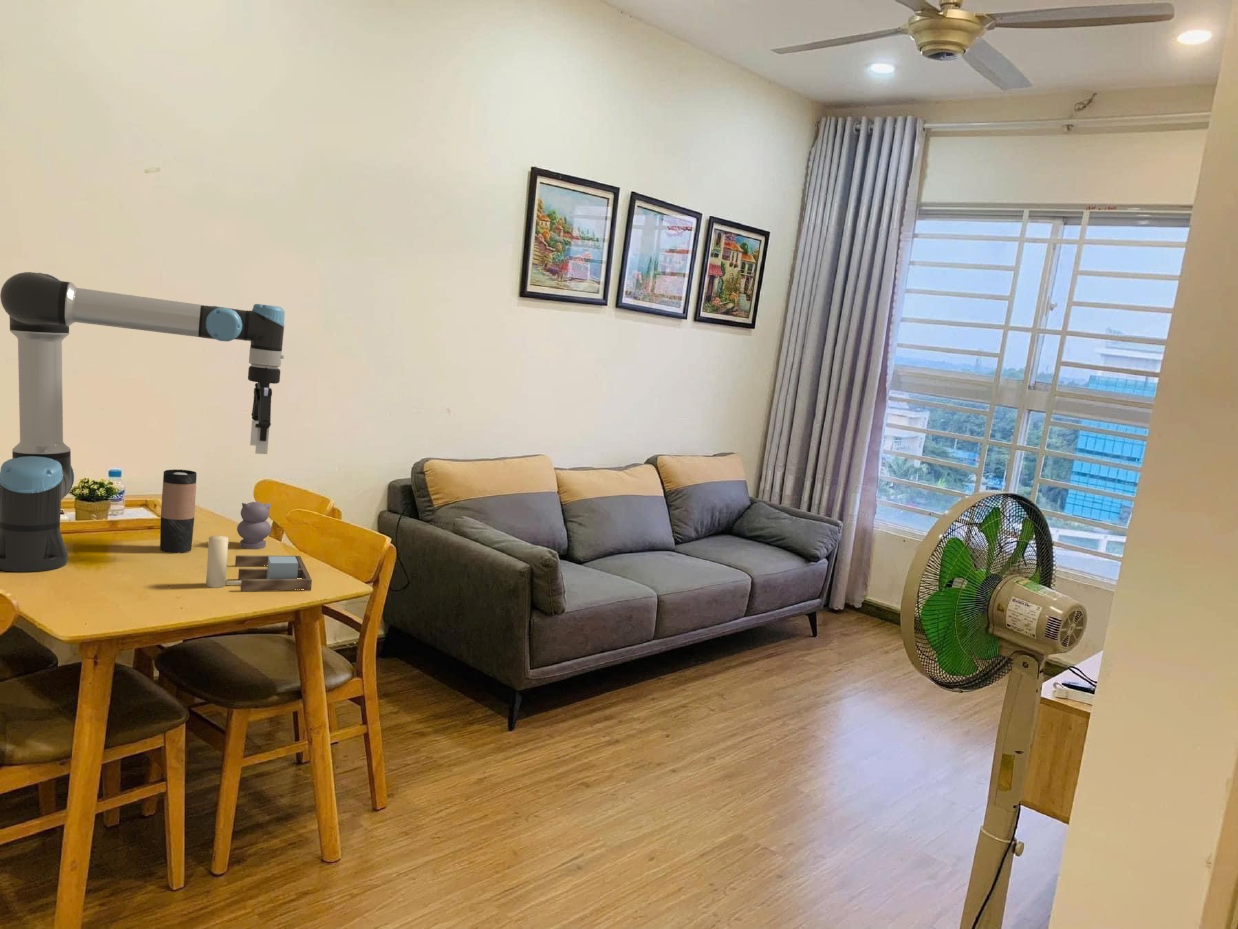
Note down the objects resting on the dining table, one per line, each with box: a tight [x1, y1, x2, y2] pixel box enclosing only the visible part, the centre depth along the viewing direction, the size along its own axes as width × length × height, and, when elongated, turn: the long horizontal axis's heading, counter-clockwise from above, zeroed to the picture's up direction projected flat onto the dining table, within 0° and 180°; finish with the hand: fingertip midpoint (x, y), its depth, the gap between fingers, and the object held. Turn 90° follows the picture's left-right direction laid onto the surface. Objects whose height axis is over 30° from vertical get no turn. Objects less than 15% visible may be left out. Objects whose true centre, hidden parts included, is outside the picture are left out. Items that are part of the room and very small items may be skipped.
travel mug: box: [159, 469, 198, 554], centre depth 229 cm, size 8×8×20 cm
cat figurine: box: [236, 501, 273, 550], centre depth 242 cm, size 8×8×12 cm
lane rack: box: [234, 554, 313, 592], centre depth 216 cm, size 15×22×2 cm
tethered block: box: [205, 535, 298, 589], centre depth 208 cm, size 19×6×11 cm, turn 116°
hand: (258, 449), depth 232 cm, fingers open, 13 cm apart
